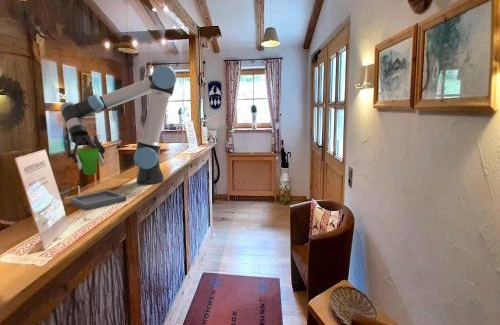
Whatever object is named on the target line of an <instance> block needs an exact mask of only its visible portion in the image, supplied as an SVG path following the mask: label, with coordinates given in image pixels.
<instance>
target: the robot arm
mask: <svg viewBox="0 0 500 325" xmlns="http://www.w3.org/2000/svg"><path fill="white" fill-rule="evenodd" d="M176 82H177V73H176V72H175V70H174V69H173V68H172V67H171V66H168V65H166V64H165V65H164V64H163V65H159V66H156V67H155V68H154V69H153V71H152V73H151V74H150V75H148V76H147V77H146V79H143V80H140V81H137V82H135V83H133V84H129V85H127V86H124V87H121V88H119V89H116V90H113V91H111V92H108V93H105V94H103V95H101V96H99V95H98V94H93V95H89V96H88V97H87V98H84V99H82V100H81V101H78V102H76V103H75V102H72V101H69V102H65V103H63V104H61V105H60V112H61V115H62V119H63V121H64V123H65V125H66V128H67V130H68V133H69V136H70V137H65V139H64V142H65V146H66V158H67V159H69V158H70V159H72V161H73V162H74V164H77V167H78V170H79V171H81V170H82V169H83V167H82V164H81V161H80V157H79V154H77V153H78V152H77V151H78V148H79V147H81V146H87V147H89V149H99V150H98V162H99V164H100V166H101V168H102V167H104V165H105V160H104V159H105V157H104V154H105V153H106V149H105V147H104V146H103V145H102V143H101V142H100V141H99V139H98V137H97V135H93V136H90V135H89V132H88V130H87V127H86V125H85V123H84V121H83V118H86V117H88V116H90V115H92V114H100V113H102V112H104V111H107V110H109V109H111V108H114V107H117V106H119V105H122V104H124V103H125V104H126V103H127V102H130V101H132V100H135V99H138V98H141V97H142V96H146V95H149V94H151V96H150V100H149V105H148V110H147V114H146V117H145V124H144V128H143V131H142V136H141V138H140V139H138V140H137V142H136V149H135V152H134V154H133V161H134V163H135V165H136V166H137V167H138V172H137V176H136V184H138V185H153V184H159V183H162V182H164V181H165V176H164V174H163V172H162V169H161V165H160V155H159V154H160V151H161V147H162V146H161V144H160V137H161V133H162V128H163V125H164V118H165V115H166V112H167V106H168V102H169V98H170V97H172V96H173V93H174V90H175V85H176ZM71 142H72V143H74V144H75V145H74V148H73V151H72V153H71V150H72V149H71Z"/></svg>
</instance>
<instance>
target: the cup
mask: <svg viewBox="0 0 500 325" xmlns="http://www.w3.org/2000/svg"><path fill="white" fill-rule="evenodd" d="M98 150H99V149H91V148H83V149H77V152H76V153H78V154H77V155H78V157H79V159H80V162H81V164H82V171H83V174H84V175H95V174H97V172H98V161H99V159H98Z"/></svg>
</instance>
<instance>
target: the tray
mask: <svg viewBox="0 0 500 325" xmlns="http://www.w3.org/2000/svg"><path fill="white" fill-rule="evenodd" d="M123 202H127V196H126V195H125V194H122V193H119V192H116V191H114V190H111V189H105V190H102V191H96V192H92V193H87V194H82V195H77V196H73V197H69V203H70V204H71V205H73V206H75V207H77V208H78V209H79V208H80V209H81V210H83V211H85V212H86V211H87V212H88V211H89V210H93V209H98V208H103V207H106V206H110V205H115V203H116V204H119V203H123Z"/></svg>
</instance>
